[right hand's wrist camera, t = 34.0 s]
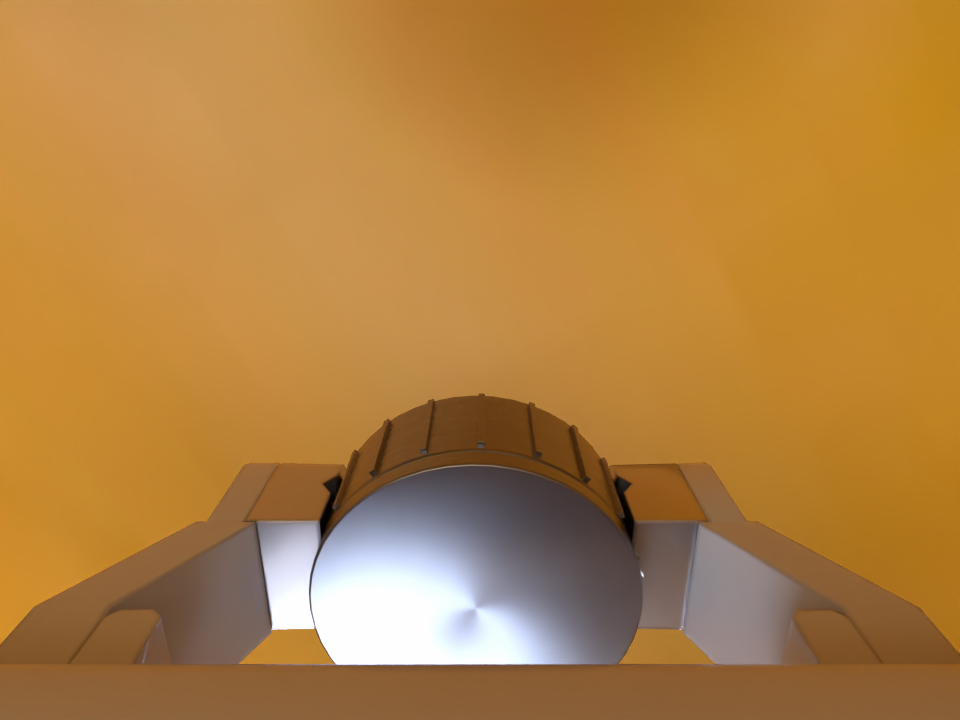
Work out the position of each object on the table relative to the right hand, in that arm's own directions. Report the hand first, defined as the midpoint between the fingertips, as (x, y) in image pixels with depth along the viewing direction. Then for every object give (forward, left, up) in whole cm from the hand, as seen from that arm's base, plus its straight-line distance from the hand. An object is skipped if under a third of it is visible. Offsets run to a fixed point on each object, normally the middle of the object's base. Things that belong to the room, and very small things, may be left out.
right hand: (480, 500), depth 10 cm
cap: (0, 0, +2) cm, 2 cm away
